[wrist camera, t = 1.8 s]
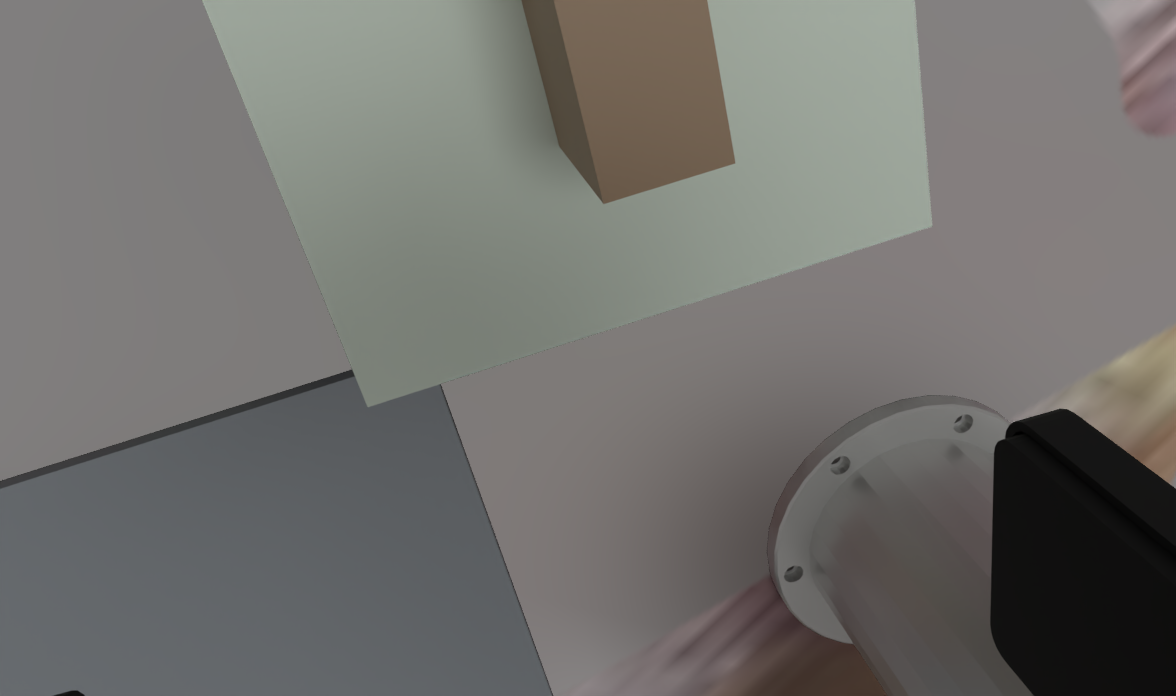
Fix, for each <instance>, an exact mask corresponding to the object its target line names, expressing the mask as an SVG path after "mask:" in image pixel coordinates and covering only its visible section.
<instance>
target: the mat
mask: <svg viewBox="0 0 1176 696" xmlns="http://www.w3.org/2000/svg"><path fill="white" fill-rule="evenodd" d="M72 690H78V691H79V692H81V693H83V694H84V695H85V696H553V694H552V691H551V688H550V686H549V683H548V680H547V677H546V675H545V672H544V669H543V666H542V663H541V661H540V658H539V655H538V652H537V650H536V647H535V644H534V641H533V639H532V636H531V633H530V630H529V627H528V625H527V622H526V619H525V616H524V614H523V611H522V608H521V605H520V603H519V600H518V597H517V594H516V591H515V589H514V586H513V583H512V580H511V578H510V575H509V572H508V570H507V566H506V564H505V561H504V558H503V555H502V553H501V550H500V547H499V544H498V542H497V539H496V536H495V533H494V530H493V528H492V525H491V522H490V520H489V517H488V514H487V511H486V508H485V506H484V503H483V501H482V497H481V494H480V492H479V489H478V486H477V483H476V481H475V478H474V475H473V472H472V470H471V467H470V464H469V462H468V458H467V456H466V453H465V450H464V447H463V445H462V442H461V439H460V436H459V434H458V431H457V428H456V425H455V423H454V420H453V417H452V414H451V412H450V409H449V406H448V403H447V400H446V398H445V395H444V392H443V390H442V386H441V384H439V385H436V386H433V387H430V388H427V389H423V390H420V391H417V392H414V393H411V394H408V395H405V396H402V397H399V398H395V399H392V400H389V401H386V402H383V403H380V404H377V405H374V406H370V407H367V404H366V402H365V400H364V397H363V395H362V392H361V390H360V387H359V385H358V382H357V380H356V377H355V375H354V373H353V370H349V371H346V372H343V373H340V374H337V375H334V376H331V377H328V378H324V379H321V380H318V381H315V382H311V383H308V384H305V385H302V386H299V387H296V388H293V389H289V390H286V391H283V392H280V393H277V394H274V395H271V396H267V397H264V398H261V399H258V400H255V401H252V402H249V403H245V404H242V405H239V406H236V407H233V408H229V409H226V410H223V411H220V412H217V413H214V414H210V415H207V416H204V417H201V418H198V419H195V420H191V421H189V422H185V423H182V424H179V425H176V426H173V427H170V428H166V429H163V430H160V431H157V432H154V433H150V434H147V435H144V436H141V437H138V438H135V439H131V440H128V441H126V442H122V443H119V444H116V445H113V446H109V447H106V448H103V449H100V450H97V451H94V452H90V453H87V454H84V455H81V456H78V457H75V458H71V459H68V460H65V461H62V462H59V463H56V464H53V465H49V466H46V467H43V468H40V469H37V470H34V471H31V472H27V473H24V474H21V475H18V476H15V477H12V478H8V479H6V480H2V481H0V696H54V695H57V694H61V693H64V692H68V691H72Z"/></svg>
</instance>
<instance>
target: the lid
mask: <svg viewBox="0 0 1176 696" xmlns="http://www.w3.org/2000/svg"><path fill="white" fill-rule="evenodd" d="M202 2H203V4H204V7H205V9H206V12H207V14H208V17H209V19H210V21H211V24H212V26H213V29H214V31H215V34H216V36H217V39H218V41H219V44H220V46H221V48H222V51H223V53H224V56H225V58H226V61H227V63H228V66H229V68H230V70H231V73H232V75H233V78H234V80H235V83H236V85H237V88H238V90H239V92H240V95H241V98H242V100H243V103H244V105H245V107H246V110H247V112H248V115H249V117H250V120H251V122H252V124H253V127H254V129H255V132H256V134H257V137H258V139H259V142H260V144H261V147H262V149H263V152H264V154H265V157H266V159H267V161H268V164H269V166H270V169H271V171H272V174H273V176H274V179H275V181H276V184H277V186H278V188H279V191H280V193H281V196H282V198H283V201H284V203H285V205H286V208H287V210H288V213H289V215H290V218H291V220H292V223H293V225H294V228H295V230H296V233H297V235H298V237H299V240H300V242H301V245H302V247H303V250H304V252H305V255H306V257H307V260H308V262H309V264H310V267H311V269H312V272H313V274H314V277H315V279H316V282H317V284H318V286H319V289H320V291H321V294H322V296H323V299H324V301H325V304H326V306H327V309H328V311H329V313H330V316H331V319H332V321H333V323H334V326H335V328H336V331H337V333H338V335H339V338H340V341H341V343H342V345H343V348H344V350H345V353H346V355H347V358H348V360H349V363H350V365H351V367H352V370H353V373H354V375H355V377H356V380H357V382H358V385H359V387H360V390H361V392H362V395H363V397H364V400H365V402H366V404H367V407H370V406H374V405H377V404H380V403H383V402H386V401H389V400H392V399H395V398H399V397H402V396H405V395H408V394H411V393H414V392H417V391H420V390H423V389H427V388H430V387H433V386H436V385H439V384H442V383H445V382H448V381H452V380H455V379H458V378H461V377H464V376H467V375H470V374H473V373H476V372H479V371H482V370H486V369H489V368H492V367H495V366H498V365H502V364H504V363H507V362H511V361H514V360H517V359H520V358H523V357H526V356H529V355H533V354H536V353H539V352H542V351H545V350H548V349H551V348H554V347H558V346H561V345H564V344H567V343H570V342H573V341H576V340H580V339H583V338H585V337H589V336H592V335H595V334H598V333H601V332H604V331H608V330H611V329H614V328H617V327H620V326H623V325H626V324H629V323H633V322H636V321H639V320H642V319H645V318H648V317H651V316H654V315H658V314H661V313H664V312H667V311H670V310H673V309H676V308H679V307H682V306H686V305H689V304H692V303H695V302H698V301H701V300H704V299H707V298H711V297H714V296H716V295H720V294H723V293H726V292H729V291H732V290H736V289H739V288H742V287H745V286H748V285H751V284H754V283H757V282H760V281H764V280H766V279H770V278H773V277H776V276H779V275H782V274H785V273H789V272H792V271H795V270H798V269H801V268H804V267H807V266H810V265H814V264H817V263H820V262H823V261H826V260H829V259H832V258H835V257H838V256H841V255H845V254H848V253H851V252H854V251H857V250H860V249H864V248H867V247H870V246H873V245H876V244H879V243H882V242H885V241H888V240H892V239H895V238H898V237H901V236H904V235H907V234H910V233H914V232H917V231H920V230H923V229H926V228H929V227H932V216H931V203H930V190H929V177H928V166H927V153H926V139H925V126H924V113H923V101H922V88H921V76H920V64H919V49H918V37H917V24H916V11H915V0H202Z"/></svg>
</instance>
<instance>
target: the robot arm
mask: <svg viewBox="0 0 1176 696" xmlns="http://www.w3.org/2000/svg"><path fill="white" fill-rule="evenodd" d="M767 555H768V563H769V571H770V574H771V577H772V579H773V582H774V584H775V587H776V589H777V591H778V593H779V594H780V596H781V598H782V599H783V601H784V602H785V604H786V606H787V607H788V609H789V611H790V612H791V613H792V614H793V615H794V616H795V617H796V618H797V619H798V620H799V621H800V622H801V623H802V624H803V625H804V626H806V627H807V628H809V629H811V630H812V631H814V632H815V633H817V634H819V635H820V636H823V637H826V638H829V639H832V640H835V641H838V642H841V643H847V644H854V645H855V647H856V648H857V650H858V651H859V653H860V654H861V656H862V657H863V659H864V660H865V662H866V663H867V665H868V666H869V668H870V670H871V671H872V673H873V674H874V676H875V677H876V679H877V680H878V682H879V683H880V685H881V686H882V688H883V689H884V691H885V692H886V694H887V695H888V696H1176V489H1175V488H1174V487H1173V486H1171V485H1170V484H1169V483H1167V482H1166V481H1165V480H1163V479H1162V478H1161V477H1159V476H1158V475H1157V474H1155V473H1154V472H1153V471H1151V470H1150V469H1149V468H1147V467H1146V466H1145V465H1143V464H1142V463H1141V462H1139V461H1138V460H1137V459H1135V458H1134V457H1133V456H1131V455H1130V454H1129V453H1127V452H1126V451H1125V450H1123V449H1122V448H1121V447H1119V446H1118V445H1117V444H1115V443H1114V442H1113V441H1111V440H1110V439H1109V438H1107V437H1106V436H1105V435H1103V434H1102V433H1101V432H1099V431H1098V430H1096V429H1095V428H1094V427H1092V426H1091V425H1090V424H1088V423H1087V422H1086V421H1084V420H1083V419H1082V418H1080V417H1079V416H1078V415H1076V414H1075V413H1073V412H1071V411H1069V410H1068V409H1058V410H1054V411H1051V412H1047V413H1044V414H1040V415H1037V416H1033V417H1030V418H1026V419H1023V420H1019V421H1016V422H1013V423H1012V424H1011V423H1010V422H1009V421H1008V420H1006V419H1005V418H1004V417H1003V416H1001V415H1000V414H999V413H998V412H997V411H995V410H993V409H991V408H989V407H987V406H985V405H983V404H981V403H979V402H977V401H973V400H969V399H964V398H960V397H956V396H935V395H927V396H921V397H915V398H909V399H902V400H899V401H896V402H893V403H890V404H887V405H884V406H881V407H878V408H875V409H873V410H871V411H869V412H868V413H866V414H863V415H862V416H860V417H858V418H856V419H854V420H852V421H850V422H848V423H847V424H846V425H844V426H843V427H841V428H840V429H839V430H837V431H836V432H835V433H833V434H832V435H830V436H829V437H828V438H826V439H825V440H824V441H823V442H822V443H821V444H820V445H819V446H818V447H817V448H816V449H815V450H814V451H813V452H812V453H811V454H810V455H809V456H808V457H807V458H806V459H805V460H804V461H803V462H802V464H801V465H800V466H799V468H798V469H797V471H796V472H795V473H794V474H793V476H792V477H791V478H790V480H789V481H788V483H787V485H786V487H785V489H784V491H783V493H782V495H781V496H780V498H779V500H778V502H777V504H776V507H775V510H774V514H773V517H772V521H771V523H770V528H769V534H768V546H767ZM54 696H85V695H84V694H83V693H81V692H79V691H78V690H72V691H68V692H64V693H61V694H57V695H54Z"/></svg>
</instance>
